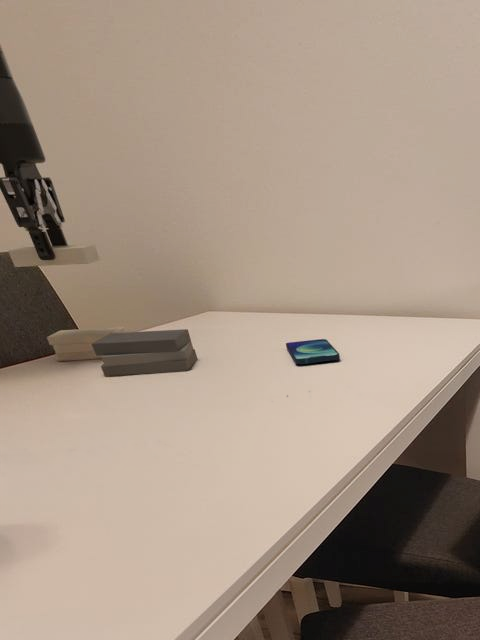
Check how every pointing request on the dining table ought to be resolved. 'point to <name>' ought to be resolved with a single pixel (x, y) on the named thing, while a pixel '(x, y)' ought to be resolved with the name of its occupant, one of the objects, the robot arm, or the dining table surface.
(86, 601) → the dining table surface
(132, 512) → the dining table surface
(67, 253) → the beige flat block
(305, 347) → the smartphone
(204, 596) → the dining table surface
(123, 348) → the grey stack
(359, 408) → the dining table surface
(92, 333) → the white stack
